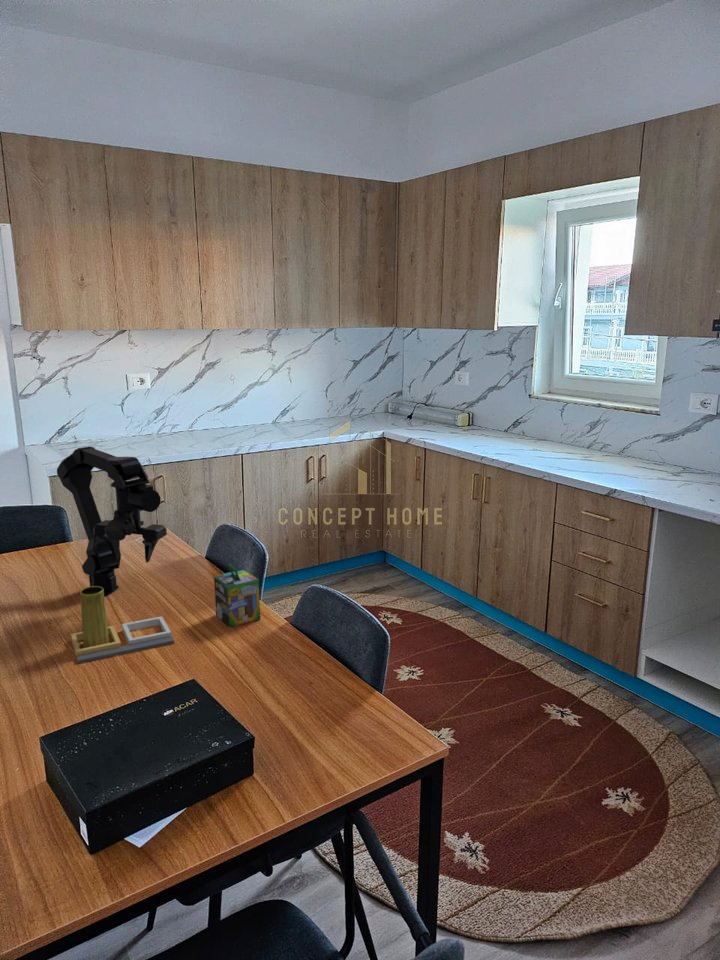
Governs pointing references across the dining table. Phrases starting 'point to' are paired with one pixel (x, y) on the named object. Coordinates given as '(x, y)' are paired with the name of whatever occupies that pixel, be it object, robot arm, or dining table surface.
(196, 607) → the dining table surface
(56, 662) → the dining table surface
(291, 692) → the dining table surface
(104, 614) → the vase
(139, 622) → the socket panel
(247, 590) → the chalk box
